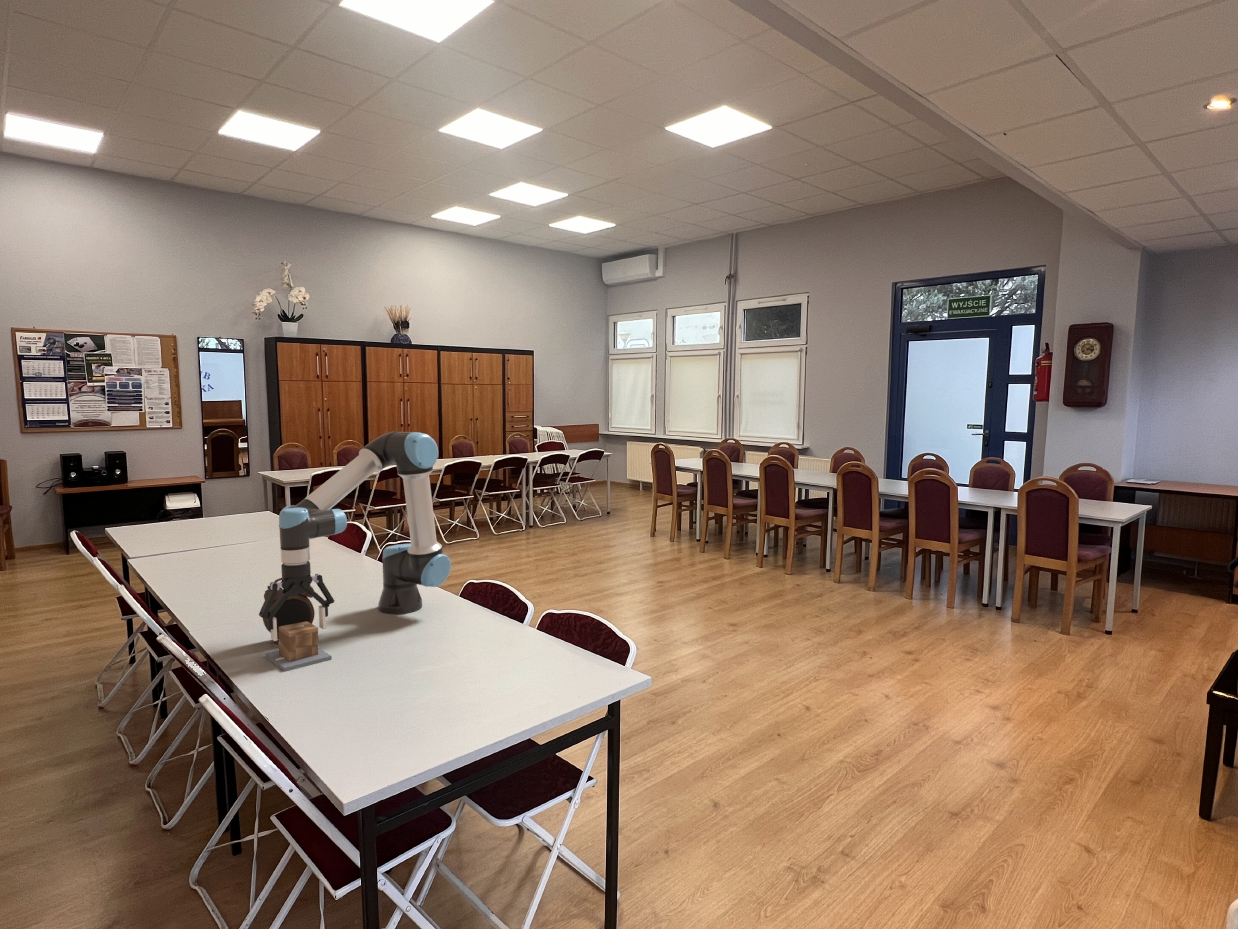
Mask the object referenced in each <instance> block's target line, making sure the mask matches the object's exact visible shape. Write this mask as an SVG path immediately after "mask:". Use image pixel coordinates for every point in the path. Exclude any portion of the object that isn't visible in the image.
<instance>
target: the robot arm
mask: <svg viewBox="0 0 1238 929" xmlns="http://www.w3.org/2000/svg"><path fill="white" fill-rule="evenodd" d="M438 458H439V448H438V444H437V443H436V440H435V439H434V438H432V437H431V436H430V435H429V434H427V433H424V432H423V433H422V432H418V431H389V432H386V433H383V434H382V435H380V436H378V437H376V438H375V439H373V440H372V441H370V442H369V443H367V444H366V445H364V447H362V448H361V449H360V450H359V452H358V455H357V456H356V457H355V458H353V459H352V460H351V461H350V462H348V463H347V464H346V465H345V466H343V467H342V468H341V469H340V470H338V471H337V472H336V473H335V474H333V475H332V476H331V477H330V478H329V479H328V480H326V481H325V482H324V483H322V484H321V485H320V486H318V487H317V488H316V489H315V490H313V491H312V492H311V493H310V494H309V495H307V496H306V497H305V498H304V499H302V500H301V501H300V502H298V503H297V504H296V505H295V504H292V505H287V506H285V507H284V508H282V509H281V511H280V512H279V515H278V528H279V543H280V560H281V563H282V564H281V565H280V567H281V578H282V580H280V581H279V582H277V583H274V581H271V582H270V583H269V586H270V590H269V592H268V595H267V597H266V599H264V601H263V603H262V606H261V608H260V611H259V613H258V616H259V617H260V618H262V619H263V618H266V619H267V628H268V629H269V630H271V633H270V639H271V640H272V641H273V642H275V641H276V642H277V641H278V640H277V622H276V618H275V617H274V616H275V614H276V613H277V612H278V610H279V609H280V607H281V606H282V605H283V603H284V602H285V601H286V599H287V598H289V596H290V595H297V594H303V593H304V592H306V591H307V592H308V593H309V594H310V595H311V596H312V598H313V599H315V600H316V601H317V602H318V603H319V604H320V605H318V621H319V622H318V624H319V627H318V628H320V629H322V630H326V629H327V628H326V627H327V626H326V618H327V617H329V607H330V605H331V604H334V603H335V599H334V598H333V596H332V594H331V592H330V591H329V590H328V587H327V586H326V584H325V583H324V580H323V575H321V574H319V573H316V574H314V575H312V576H311V573H312V572H311V571H312V569H311V562H310V560H311V553H310V550H311V549H310V540H312V539H318V538H322V537H327V536H328V537H329V536H334V535H337V534H341V533H343V532H345V530H346V529H347V526H348V521H347V520H348V519H347V514H346V513H345V512H344V510H342V509H341V508H333V507H335V506H336V505H337V504H338V503H340V501H342V500H343V499H344V498H345V497H346V496H348V494H350V493H351V492H352V491H354V490H355V489H357V487H358V486H360V485H361V484H362V483H363V482H364V481H366V480H368V478H370V477H371V476H372V475H373V474H374V473H380V472H381V471H383V469H385V468H387V467H391V466H396V471H397V475H398V476H399V477H401V478H402V482H403V489H404V490H403V491H404V496H405V497H404V498H405V507H406V514H407V522H408V529H409V536H410V537H409V539H410V543H403V544H402V543H401V544H394V545H390V546H386V547H385V548H384V549H383V551H382V581H383V582H382V584H383V587H382V588H383V589H382V591H381V594H380V597H379V600H378V611H379V612H381V613H382V614H391V615H392V614H393V615H397V614H398V615H401V614H407V613H414V612H416V611H418V610H421V609H423V608H422V607H423V600H422V596H421V594H420V590H419V587H418V585H419V586H423V587H426V588H428V587H431V588H436V587H439V586H441V585H442V584H444V582H446V581H447V579H448V577H449V575H450V573H451V571H452V570H451V569H452V563H451V559H450V558H449V556H448V555H447V554H444V553H443V546H442V544H441V543H440V542H438V540H437V533H436V524H435V516H434V507H433V500H432V499H433V498H432V497H433V496H432V489H431V482H430V480H431V479H430V475H431V473H432V472H433V471H434V468H433V466H434V465H436V463H437V459H438ZM332 508H333V509H332ZM312 582H314V583H315V584H316V585H317V587H318V589H319V590H320V592H321V594H322V595H323V596H324V598H325V599H324V598H323V597H322V596H321V595H319V593H317V592H316V591H315V590H313V589H314V588H313V589H312V588H311V587H312V586H311V587H309V586H310V585H311V584H312ZM280 587H281V588H282V589H283V590H282V592H281V593H280V596H279V597H278V599H277V600H276V601H275V603H274V604H273V605H272V603H273V600H274V598H275V596H276V593H277V590H279V588H280ZM271 605H272V607H271ZM270 607H271V608H270Z"/></svg>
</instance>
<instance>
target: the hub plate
mask: <svg viewBox="0 0 1238 929" xmlns="http://www.w3.org/2000/svg"><path fill="white" fill-rule="evenodd" d="M264 657H265V658H267V659H268V660H269V661H270V662H271V663H273V664H275V665H276V667H278V668H279V669H281V670H282V671H284V672H287V671H291V670H296V669H299V668H303V667H307V666H310V665H315V664H319V663H323V662H325V661H331V660H332V657H333V656H332V655H331V654H329V653H328V652H326V651H324V649H321V648H320V647H318V655H314V656H310V657H306V658H301V659H297V660H293V661H288V660H287V659H286V658H284V657H283V656H281V655H280V654H279V649H278V650H274V651H269V652H266V653H264Z"/></svg>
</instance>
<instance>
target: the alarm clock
mask: <svg viewBox="0 0 1238 929" xmlns="http://www.w3.org/2000/svg"><path fill="white" fill-rule="evenodd" d="M281 581H282V577H279V578H277V579H275V580H274V581H273V582H274V583H279V582H281ZM309 587H311V588H312V589H313V590H314V588H313V587H312V585H311V584H310V586H309ZM266 588H267V589H266V590H264V594H263V598H264V599H263V600H265V599H266V597H267V595H268V592H269V590H270V585H267V587H266ZM282 590H283V588H282V587H280V588H279V590H277V593H276V596H275V598H274V600H273V603H272V605H273V604H274V603H275V601H276V600H277V599H278V597H279V596H280V593H281V592H282ZM314 591H315V590H314ZM310 599H313V597H312V596H311V595H310V594H309V593H308V592H307V591H306V592H304V593H303V594H297V595H290V596H289V598H287V599H286V601H285V602H284V603H283V605H282V606H281V607H280V609H279V610H278V612H277V613H276V614H275V616H274V617H275V618H276V622H277V641H279V627H280V626H285V625H290V624H295V623H301V622H306V621H307V622H309V623H311V624H313V622H314V619H315V608H314V605H313V603H312V601H311V600H310ZM272 605H271V607H272ZM271 607H270V608H271ZM262 621H263V622H262V623H263V625H264V627H265V628H266V630H267V631H268V632H269V633H270V634H271V630H269V629H268V628H267V619H266V618H262ZM277 641H273V644H277Z"/></svg>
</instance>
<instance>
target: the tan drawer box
mask: <svg viewBox="0 0 1238 929" xmlns="http://www.w3.org/2000/svg"><path fill="white" fill-rule="evenodd" d="M318 648H319V627H317V626H316V625H314V624H313V623H312V624H311V623H309V622H307V621H306V622H301V623H295V624H290V625H285V626H280V627H279V639H278V650H279V654H280V655H281V656H283V657H284V658H286V659H287V660H288V661H293V660H297V659H301V658H306V657H310V656H314V655H318Z"/></svg>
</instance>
